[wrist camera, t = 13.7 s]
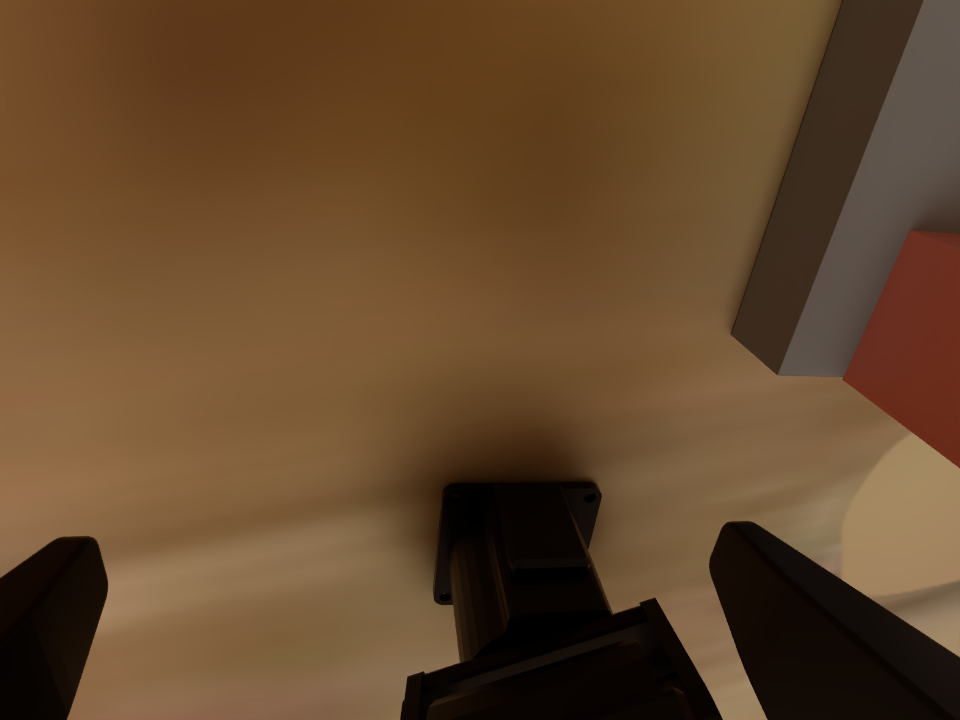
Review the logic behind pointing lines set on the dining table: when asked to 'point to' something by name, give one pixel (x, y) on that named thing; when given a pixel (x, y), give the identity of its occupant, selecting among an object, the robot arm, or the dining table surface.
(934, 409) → the cap
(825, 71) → the breaker panel
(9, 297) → the dining table surface
